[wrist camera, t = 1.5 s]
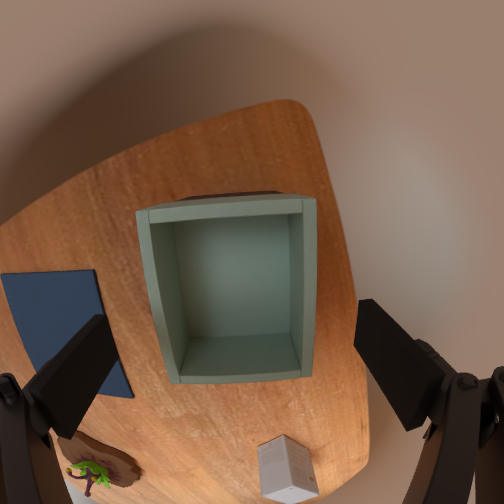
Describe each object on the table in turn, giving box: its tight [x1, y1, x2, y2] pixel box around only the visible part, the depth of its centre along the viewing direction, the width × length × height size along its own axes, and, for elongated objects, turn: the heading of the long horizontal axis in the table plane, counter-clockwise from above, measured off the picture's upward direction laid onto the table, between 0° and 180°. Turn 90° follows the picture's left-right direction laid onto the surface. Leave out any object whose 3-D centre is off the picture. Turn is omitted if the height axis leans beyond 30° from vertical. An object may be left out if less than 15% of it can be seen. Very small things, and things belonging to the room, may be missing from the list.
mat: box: [0, 269, 134, 399], centre depth 30 cm, size 20×20×1 cm
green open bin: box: [136, 193, 317, 384], centre depth 19 cm, size 12×10×6 cm
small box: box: [257, 435, 319, 504], centre depth 32 cm, size 8×6×10 cm
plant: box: [57, 431, 141, 497], centre depth 34 cm, size 20×20×11 cm
